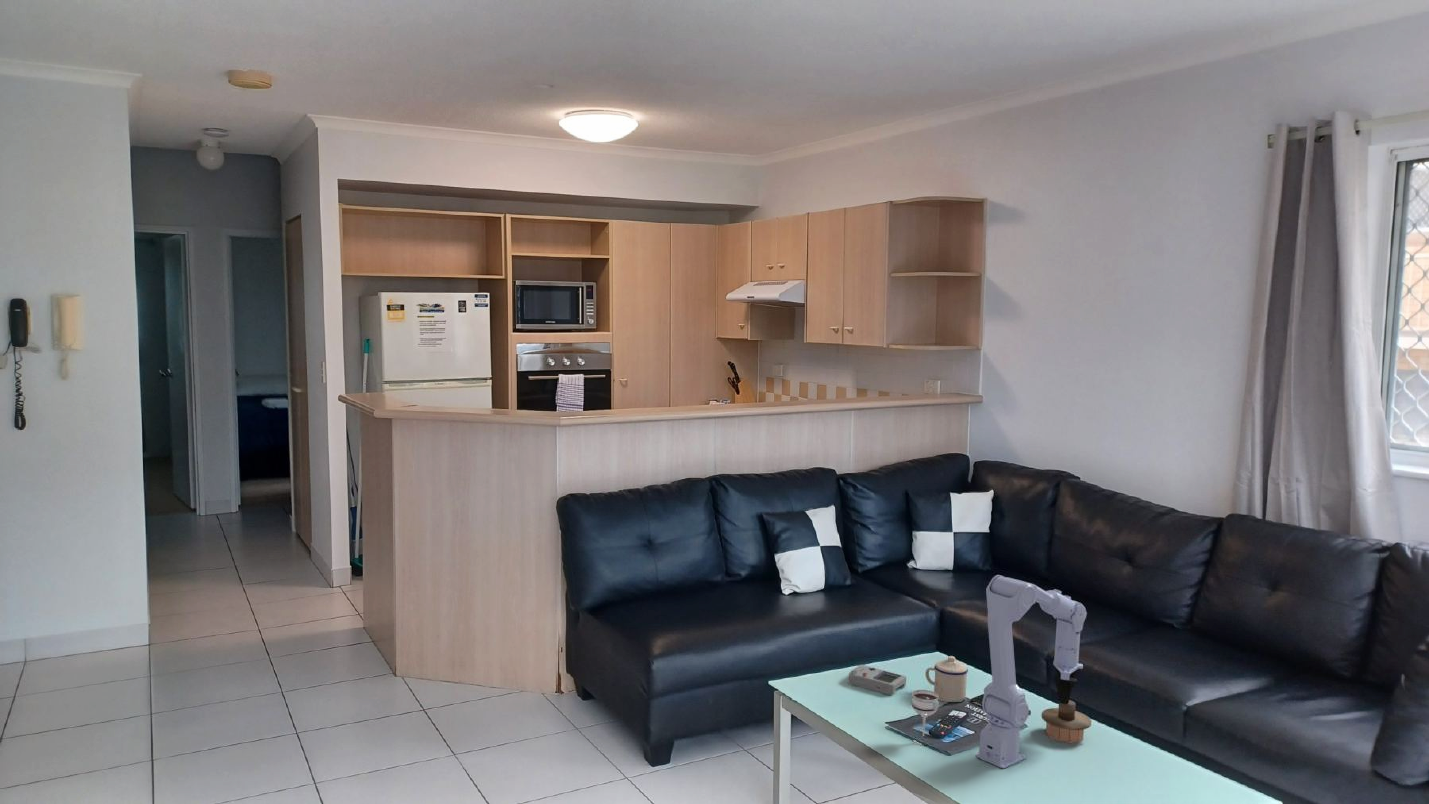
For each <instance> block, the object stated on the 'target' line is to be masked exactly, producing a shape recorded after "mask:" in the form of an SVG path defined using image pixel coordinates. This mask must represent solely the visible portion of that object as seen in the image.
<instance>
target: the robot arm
mask: <svg viewBox="0 0 1429 804" xmlns="http://www.w3.org/2000/svg"><path fill="white" fill-rule="evenodd" d="M985 589H986V590H985V593H986V605H987V606H986V607H987V629H988V639H989V653H990V654H989V655H990V664H991V665H990V667H991V678H992V682H989V683H988V684H987V685H986V686H985V687H984V688H983V694H984V698H983V701H982V706H983V707H982V710H983V712H984V713H985V714H986V719H988V723H987V724H986V726H985V727H984V728H982V729H981V731H980V734H979V747H978V748H979V749H978V753H976V754H975V757H976V758H978V759H981V760H983V761H985V762H986V763H987V762H988V763H990V764H992V765H994V766H997V767H998V768H1001V769H1006V768H1008V767H1010V766H1012V765H1014V764H1016V763H1019V762H1021V761H1023V760H1025V759H1026V755H1024V754H1021V753H1019V752H1020V751H1019V749H1020V733H1021V726H1023V725H1025V723H1026V721H1027V720H1028V718H1029V716H1030V715H1029V710H1030V708H1029V704H1028V702H1027V700H1026V694H1025V693H1024V691H1023V690H1022V689H1021V688H1020V686H1019V685H1018V684H1017V679H1016V666H1015V665H1016V663H1015V651H1014V639H1013V637H1014V636H1013V623H1014V622H1018V621H1020V620H1021V618H1023V617H1024V615H1025V614H1026V613H1027V612H1028V611H1029V610H1030V609H1031V607H1032V606H1033V605H1035V604H1037V603H1038V604H1039V607H1040V608H1041V610H1042V611H1043V612H1045V613H1047V614H1048V615H1051V616H1052V617H1053V618H1054V620H1055V619H1056V627H1055V628H1056V629H1055V630H1056V631H1055V632H1056V633H1055V644H1054V646H1055V647H1054V660H1053V664H1052V665H1053V666H1054V668H1055V670H1056V673H1057V674H1056V673H1053V675H1052V678H1053V681H1054V683H1055V685H1056V691H1057V699H1058V704H1059V703H1063V704H1068V702H1069V700H1070V699H1071V698H1070V697H1071V695H1072V691H1073V689H1074V687H1075V685H1077V682H1078V678H1074V675H1075V674H1076V672H1077V670H1079V669H1080V670H1082V669H1083V668H1084V665H1083V663H1079V658H1080V657H1079V656H1080V644H1081V643H1080V640H1081V632H1082V631H1083V629H1084V623H1085V620H1086V618H1087V614H1088V612H1087V610H1086V607H1085V606H1084V605H1083V603H1081V602H1078V601H1076V600H1072V597H1071V596H1069V595H1066V594H1065V595H1063V594H1062V591H1061V590H1059V589H1056V588H1054V589H1052V590H1051V589H1050V590H1044V589H1042V588H1041V587H1039V586H1038V585H1036V584H1034V583H1031V582H1027V581H1023V580H1020V579H1015V578H1012V577H1007V576H1006V577H1005V576H1004V575H1000V574H997V575H994V576H993V577H992V578H991V580H990V581H989V583H988V585H987V587H986V588H985ZM1028 715H1029V716H1028Z"/></svg>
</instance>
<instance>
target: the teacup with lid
mask: <svg viewBox="0 0 1429 804" xmlns="http://www.w3.org/2000/svg"><path fill="white" fill-rule="evenodd" d="M930 671H934V681H933V680H932V679H931V677H930V673H929V672H930ZM968 672H969V669H968V666H967V665H966V664H964V663H963V662H961V661H958V660H956V657H955V656H953V655H950V656H948V657H947V658H946V659H944V660H939V661H937V662H935V664H934V666H930V667H928V668H926V670H925V678H926V680H927V682H928V683H929V684H930V685H932V686H934V690H933V692H935V693H937V694H938V695H939V698H938V701H941V702H944V703H947V702H952V701H953V700H956V699H961V698H965V699H966V696H967V679H968V678H967V675H968Z"/></svg>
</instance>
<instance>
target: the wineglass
mask: <svg viewBox="0 0 1429 804" xmlns="http://www.w3.org/2000/svg"><path fill="white" fill-rule="evenodd" d="M911 695H912V697H911V699H910V700H911V701H910V704H911V707H912V709H913V711H914V712H915V713H916V714H918V715H920V716H921V718H922V737H923V736H924V737H925V731H926V720H927V718H928V717H929V716H933V715H934V714H935V713H936V712H937V711H938V709H939V704H940V702H939V700H938V698H939V695H938V694H937V693H935V692H934V690H933V691H932V690H927V689H916V690H913V691H911ZM912 741H913V743H915V744H916V745H919V746H924V745H922V744H921V743H919V742H917V741H916V740H913V739H912ZM924 747H925V746H924Z"/></svg>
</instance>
